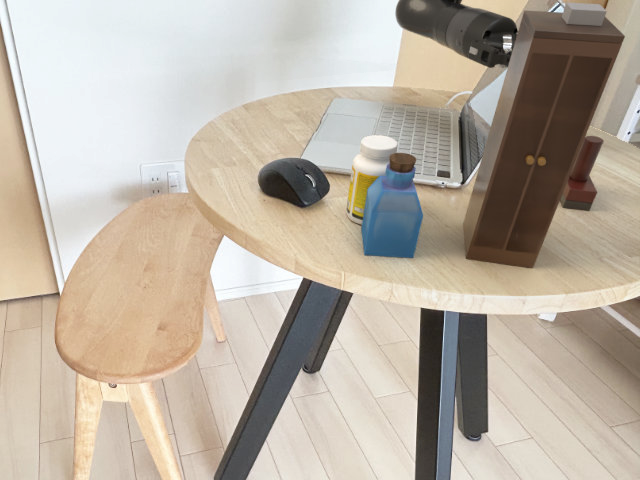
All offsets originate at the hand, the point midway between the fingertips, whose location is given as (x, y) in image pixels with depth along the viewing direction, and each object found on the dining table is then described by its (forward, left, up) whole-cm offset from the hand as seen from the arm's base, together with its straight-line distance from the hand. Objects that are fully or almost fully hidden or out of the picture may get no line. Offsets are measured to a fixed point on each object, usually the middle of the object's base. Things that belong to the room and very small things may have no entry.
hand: (552, 63), depth 83 cm
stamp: (-7, +9, -16) cm, 20 cm away
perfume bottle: (+19, +30, -16) cm, 39 cm away
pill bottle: (+22, +23, -16) cm, 36 cm away
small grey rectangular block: (+4, +26, +11) cm, 28 cm away
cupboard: (+5, +26, -16) cm, 31 cm away
